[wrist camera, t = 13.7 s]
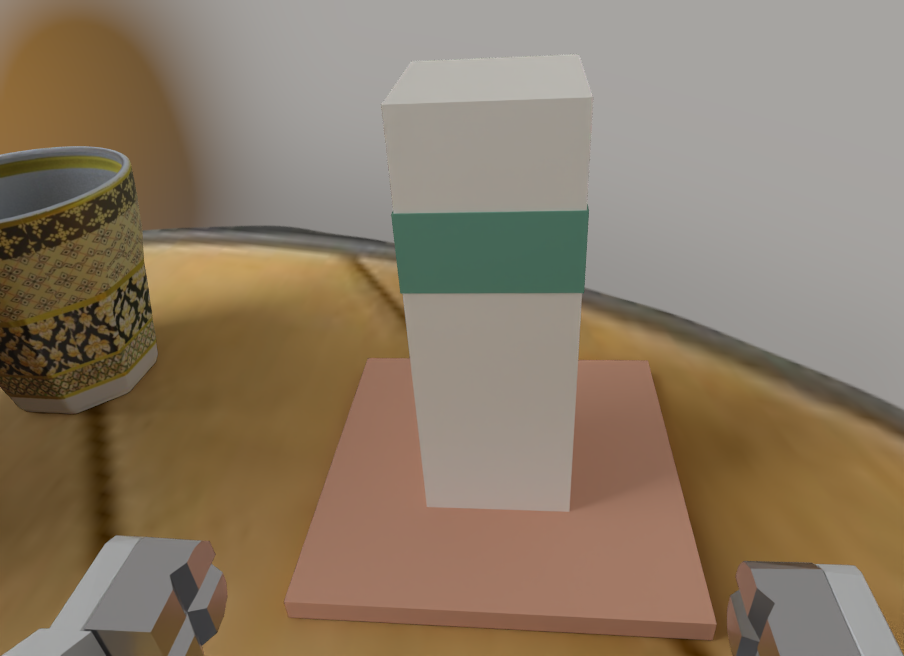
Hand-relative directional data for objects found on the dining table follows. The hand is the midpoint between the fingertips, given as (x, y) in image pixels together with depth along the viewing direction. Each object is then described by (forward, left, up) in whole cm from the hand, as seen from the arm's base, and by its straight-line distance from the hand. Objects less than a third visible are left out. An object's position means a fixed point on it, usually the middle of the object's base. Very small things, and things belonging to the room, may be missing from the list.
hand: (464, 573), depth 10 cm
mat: (-7, +10, -10) cm, 16 cm away
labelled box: (-7, +10, -9) cm, 15 cm away
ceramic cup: (-29, +3, -10) cm, 31 cm away
